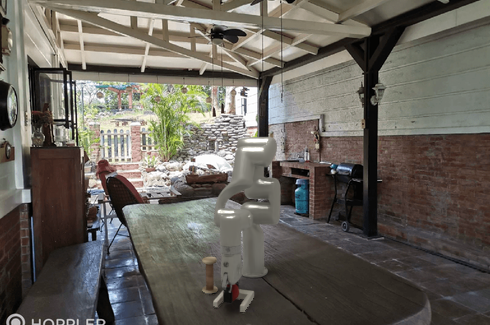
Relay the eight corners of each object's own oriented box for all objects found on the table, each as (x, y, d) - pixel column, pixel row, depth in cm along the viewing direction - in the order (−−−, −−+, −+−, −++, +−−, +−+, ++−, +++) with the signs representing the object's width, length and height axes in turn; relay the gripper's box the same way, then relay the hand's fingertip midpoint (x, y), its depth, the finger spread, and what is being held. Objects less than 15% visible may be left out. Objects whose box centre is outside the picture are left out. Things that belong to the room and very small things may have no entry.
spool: (206, 287, 140) (205, 255, 139) (220, 289, 138) (219, 257, 137) (199, 293, 134) (199, 261, 133) (214, 295, 132) (213, 262, 131)
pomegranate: (239, 305, 121) (239, 283, 120) (222, 306, 120) (222, 283, 120) (239, 298, 126) (238, 276, 126) (223, 298, 126) (223, 277, 126)
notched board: (225, 293, 134) (225, 287, 134) (254, 297, 130) (254, 291, 130) (213, 308, 123) (213, 301, 122) (244, 313, 119) (244, 306, 119)
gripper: (232, 258, 113) (233, 311, 114) (248, 242, 129) (248, 289, 130) (211, 255, 115) (212, 308, 116) (229, 240, 131) (229, 287, 133)
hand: (231, 297), depth 123 cm, fingers closed on pomegranate, 5 cm apart
